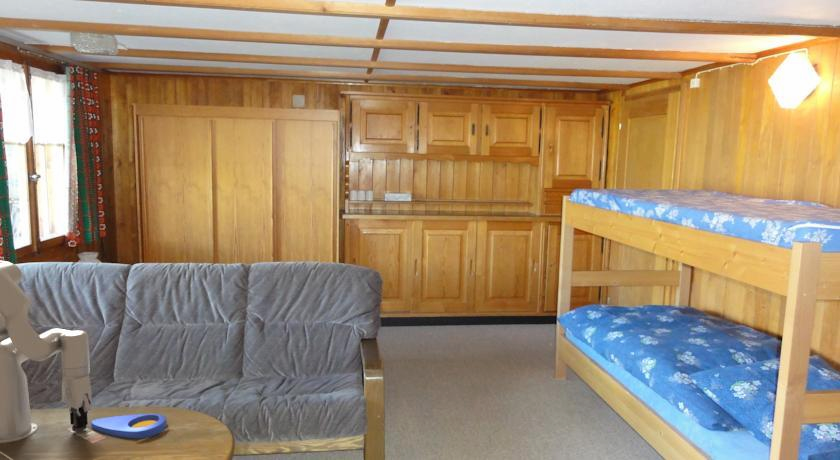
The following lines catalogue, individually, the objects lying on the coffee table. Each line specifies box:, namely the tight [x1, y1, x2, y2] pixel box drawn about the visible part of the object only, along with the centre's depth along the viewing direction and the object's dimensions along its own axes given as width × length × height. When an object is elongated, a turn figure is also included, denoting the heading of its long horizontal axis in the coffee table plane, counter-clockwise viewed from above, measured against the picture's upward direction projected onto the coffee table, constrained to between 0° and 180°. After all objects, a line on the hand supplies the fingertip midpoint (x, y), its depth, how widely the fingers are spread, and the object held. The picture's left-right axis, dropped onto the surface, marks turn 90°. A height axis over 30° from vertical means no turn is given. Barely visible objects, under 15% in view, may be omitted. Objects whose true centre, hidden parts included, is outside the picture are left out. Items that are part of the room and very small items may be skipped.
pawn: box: [71, 407, 88, 432], centre depth 191 cm, size 4×4×8 cm
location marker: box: [90, 413, 167, 440], centre depth 194 cm, size 13×3×25 cm
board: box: [66, 426, 107, 444], centre depth 190 cm, size 17×5×1 cm, turn 56°
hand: (79, 424), depth 191 cm, fingers closed on pawn, 3 cm apart
